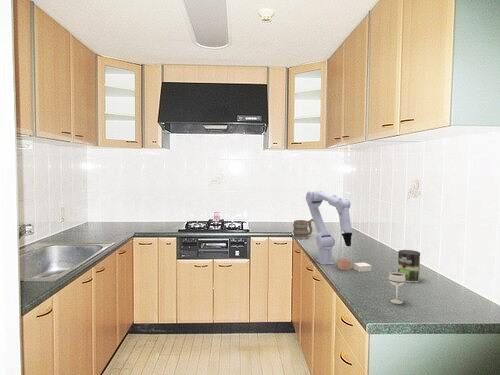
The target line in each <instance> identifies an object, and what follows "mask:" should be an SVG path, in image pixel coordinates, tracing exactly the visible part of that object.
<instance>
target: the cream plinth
mask: <svg viewBox="0 0 500 375" xmlns="http://www.w3.org/2000/svg"><path fill="white" fill-rule="evenodd" d="M353 269H354V270H355V271H358V272H359V273H361V272H362V273H365V272H366V273H367V272H372V265H371V264H369V263H367V262H354V263H353Z"/></svg>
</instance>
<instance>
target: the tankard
mask: <svg viewBox="0 0 500 375" xmlns="http://www.w3.org/2000/svg"><path fill="white" fill-rule="evenodd" d="M312 223H314V221H313V218H310V219H309V220H305V219H300V220H299V219H298V220H297V219H296V220H294V221H293V224H292V227H293V230H292V233H293V235H292V236H291V238H292V239H294V240H301V241H302V240H308V239H309V238H310V235H312V233H313V225H312ZM308 228H309V229H308Z"/></svg>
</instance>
